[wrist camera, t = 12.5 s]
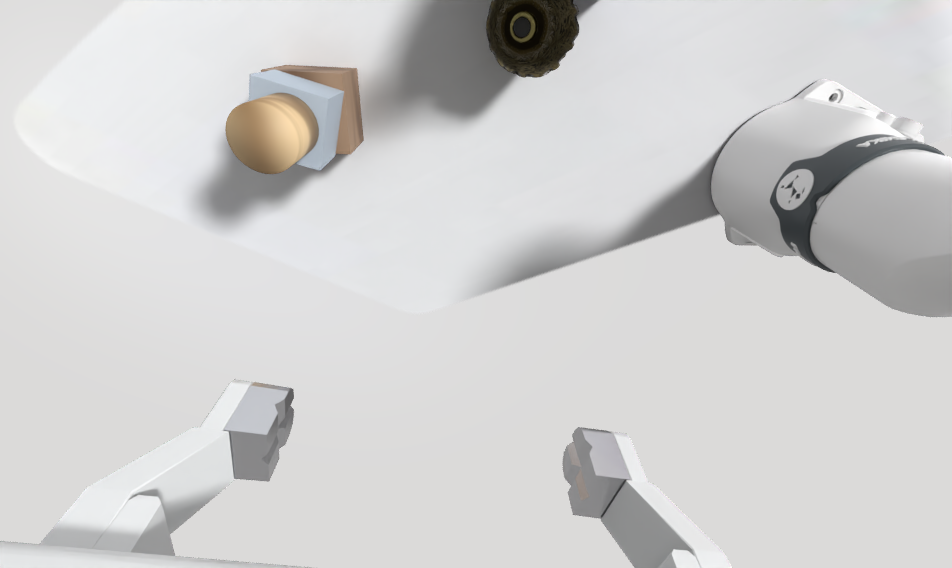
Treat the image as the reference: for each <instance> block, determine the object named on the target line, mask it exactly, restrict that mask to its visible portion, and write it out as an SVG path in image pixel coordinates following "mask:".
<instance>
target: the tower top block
mask: <svg viewBox="0 0 952 568" xmlns="http://www.w3.org/2000/svg"><path fill="white" fill-rule="evenodd" d="M273 93H288V94H291V95H294V96H296V97H298V98H300V99H301V100H302V101H304V102H305V103H306V104H307V105H308V106H309V107H310V109H311V110H312V111H313V113H314V115H315V117H316V119H317V122H318V127H319V137H318V141H317V143H316V145H315V147H314V148H313V149H312V150H311V151H310V152H309V153H307V154H306V155H305V156H304V157H302V158H301V159H300V160H298V161H297V162H296V163H295V164H298V165H301V166H305V167H308V168H312V169H315V170H319V171H320V170H321V169H322V168H323V167H324V166H325V165H327V164H328V163H329V162H330V161H331V160H332V159H333V158H334V157H335V154H336V147H337V140H338V132H339V125H340V118H341V110H342V103H343V96H344V91H342V90H338V89H335V88H332V87H329V86H326V85H323V84H319V83H316V82H313V81H310V80H307V79H304V78H301V77H297V76H294V75H291V74H288V73H285V72H282V71H279V70H275V69H274V70H269V71H264V72H259V73H254V74H250V82H249V101H252V100H255V99H258V98H261V97H264V96H267V95H270V94H273Z"/></svg>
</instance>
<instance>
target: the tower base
mask: <svg viewBox="0 0 952 568" xmlns="http://www.w3.org/2000/svg"><path fill="white" fill-rule="evenodd" d="M274 69H275V70H279V71H282V72H285V73H288V74H291V75H294V76H297V77H301V78H304V79H307V80H310V81H313V82H316V83H319V84H323V85H326V86H329V87H332V88H335V89H338V90H342V91H344V96H343V103H342V110H341V118H340V125H339V132H338V140H337V147H336V154H351V153H352V152H353V151H354V150H355V149H356V148H357V147H358V146H359V145H360V144H361V143H362V142H363V130H362V119H361V108H360V97H359V86H358V75H357V68H338V67H317V66H295V65H284V66H278V67H273V68H268V69H263V70H261V72H264V71H269V70H274Z"/></svg>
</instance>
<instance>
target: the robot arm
mask: <svg viewBox="0 0 952 568" xmlns="http://www.w3.org/2000/svg"><path fill="white" fill-rule="evenodd" d="M832 94H833V96H832V98H831V99H830V100H829V97H830V96H831V95H832ZM923 126H924V125H922V124H921V123H919V122H916V121H914V120H911V119H908V118H904V117H898V118H896V116H894V115H892V114H889V113H886V112H884V111H883V110H881V109H879V108H878V107H876V106H874V105H873V104H871V103H869V102H868V101H866V100H865V99H863V98H861V97H860V96H858V95H856V94H855V93H853V92H851V91H850V90H848V89H846V88H845V87H843V86H841V85H840V84H838V83H837V82H835V81H832V80H829V79H821V80H819V81H817V82H815V83H813V84H812V85H811V86H809V87H808V88H806V89H805V90H804V91H803V92H801V93H800V94H799V95H797V96H796V97H795V98H793V99H791V100H789V101H787V102H784V103H781V104H779V105H776V106H773V107H771V108H769V109H767V110H765V111H763V112H761V113H759V114H758V115H756V116H755V117H753V118H752V119H750V120H749V121H748V122H747V123H745V124H744V125H743V126H742V127H741V128H740V129H739V130H738V131H737V132H736V133H735V134H734V135H733V136H732V137H731V139H730V140H729V141H728V142H727V144H726V145H725V147H724V148H723V150H722V152H721V153H720V155H719V157H718V159H717V162H716V164H715V167H714V170H713V174H712V180H711V194H712V199H713V202H714V205H715V207H716V209H717V210H718V212H719V213H720V215H721V216H722V217H723V219H724V221H725V231H726V237H727V239H728V241H730V242H731V243H733V244H735V245H758V246H760V247H762V248H763V249H765V250H766V251H768V252H770V253H771V254H773V255H775V256H778V257H782V256H784V255H785V256H800V257H801V258H802V259H804V260H805V261H807V262H809V263H810V264H812V265H814V266H818V267H820V268H821V269H823V270H826V271H829V272H833V273H837V274H839V275H840V276H842V277H843V278H845V279H846V280H848V281H849V282H851V283H853V284H854V285H856V286H857V287H859V288H860V289H862V290H863V291H865V292H866V293H868V294H869V295H871V296H872V297H874V298H876V299H877V300H878V301H880V302H882V303H883V304H885V305H886V306H888V307H890V308H892V309H895V310H898V311H901V312H905V313H909V314H914V315H920V316H927V317H951V316H952V157H948V156H945V155H944V154H943V153H942V152H941V151H939V150H938V149H936V148H934V147H931V146H929V145H927V144H925V143H924V137H923V135H922V134H920V133H919V132H920V131H921V130H922V129H923ZM293 398H294V392H293V389H292V388H287V387H281V386H275V385H269V384H263V383H256V382H248V381H242V380H236V379H234V380H233V381H232V382H231V383H230V384H229V385H228V386H227V388H226V389H225V390H224V392H223V394H222V395H221V396H220V398H219V399H218V401H217V402H216V404H215V406H214V407H213V408H212V410H211V412H210V413H209V414H208V416H207V417H206V419H205V420H204V422H203V423H202V425H201V426H200V427H199V428H198V427H193V428H191V429H189V430H187V431H185V432H184V433H182V434H180V435H178V436H177V437H175V438H173V439H171V440H170V441H168V442H166V443H164V444H163V445H161V446H159V447H158V448H156V449H154V450H152V451H150V452H149V453H147V454H145V455H143V456H141V457H140V458H138V459H137V460H135V461H133V462H131V463H129V464H127V465H126V466H124V467H122V468H120V469H119V470H117V471H115V472H113V473H112V474H110V475H108V476H106V477H105V478H103V479H101V480H99V481H98V482H96V483H94V484H92V485H91V486H89V487H87V488H86V489H85V490H84V492H83V493H82V494H81V495H80V496H79V497H78V499H77V500H76V501H75V502H74V504H73V505H72V506H71V507H70V508H69V510H68V511H67V512H66V513H65V514H64V515H63V517H62V518H61V519H60V520H59V521H58V523H57V524H56V525H55V526H54V527H53V529H52V530H51V531H50V532H49V533H48V535H47V536H46V537H45V538H44V539H43V541H42V542H41V543H40V544H29V543H28V544H27V543H17V542H5V541H0V568H308V567H297V566H286V565H273V564H262V563H249V562H239V561H226V560H214V559H203V558H191V557H180V556H175V553H174V549H173V545H172V542H171V538H170V534H171V533H172V532H173V531H175V530H176V529H177V528H178V527H179V526H181V525H182V524H183V523H184V522H185V521H187V520H188V519H189V518H190V517H191V516H193V515H194V514H195V513H196V512H197V511H199V510H200V509H201V508H202V507H203V506H205V504H207V503H208V502H209V501H210V500H212V499H213V498H214V497H215V496H216V495H217V494H219V493H220V492H221V491H222V490H223V489H225V488H226V487H227V486H228V485H230V484H231V483H232V482H233V481H234V479H246V480H258V481H269V480H270V478H271V476H272V474H273V471H274V469H275V467H276V465H277V462H278V460H279V448H281V447H282V446H284V445H285V444H286V442H287V439H288V437H289V434H290V431H291V427H292V424H293V416H294V409H293V408H292V407H291V406H290V405H291V403H292V401H293ZM573 441H574V442H572V443H571V444H569V445H568V446H567V447H566V449H565V452H564V456H563V472H564V477H565V479H566V480H567V481H568V483H569V484H570V485H571V488H570V490H569V491H568V495H569V499H570V504H571V508H572V512H573V515H579V516H586V517H594V518H600V519H601V521H602V522H603V524H604V525H605V527H606V528H607V530H608V531H609V532H610V534H611V535H612V537H613V538H614V539H615V541H616V542H617V543H618V545H619V546H620V548H621V549H622V550H623V552H624V553H625V555H626V556H627V557H628V559H629V560H630V562H631V563H632V564H633V566H634V567H635V568H732V567H731V565H730V563H729V561H728V559H727V557H726V555H725V553H724V552H723V551H722V550H721V549H720V548H719V547H718V546H717V545H716V544H715V543H714V542H713V541H711V539H710V538H709V537H708V536H707V535H706V534H705V533H703V531H701V530H700V529H699V528H698V527H697V526H696V525H695V524H694V523H693V522H692V521H691V520H690V519H689V518H688V517H687V516H686V515H685V514H684V513H683V512H682V511H681V510H680V509H679V508H678V507H677V506H676V505H675V504H674V503H673V502H672V501H671V500H670V499H669V498H668V497H667V496H666V495H665V494H664V493H663V492H662V491H661V490H660V489H659V488H657V486H655V485H654V484H653V483H649V482H648V480H647V477H646V475H645V473H644V470H643V468H642V465H641V463H640V461H639V458H638V456H637V453H636V451H635V448H634V446H633V444H632V441H631V439H630V437H629V436H628V435H627V434H626V433H618V432H609V431H604V430H596V429H588V428H580V427H578V428H577V429H576V430H575V431H574V433H573Z"/></svg>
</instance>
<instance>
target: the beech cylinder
mask: <svg viewBox="0 0 952 568" xmlns="http://www.w3.org/2000/svg"><path fill="white" fill-rule="evenodd" d="M226 137H227V141H228V143H229V146H230V148H231V150H232V151H233V153H234V154H235V155H236V157H237V158H238V159H239V160H240V161H241V162H242V163H244V164H245V165H246V166H248V167H249V168H251V169H253V170H255V171H257V172H261V173H265V174H276V173H280V172H283V171H285V170H287V169H288V168H289V167H291V166H292V165H293V164H295V163H296V162H297V161H298V160H300V159H301V158H302V157H304V156H305V155H306V154H307V153H309V152H310V151H311V150H312V149H313V148H314V147H315V145H316V143H317V141H318V137H319V127H318V122H317V119H316V117H315V115H314V113H313V111H312V110H311V109H310V107H309V106H308V105H307V104H306V103H305V102H304V101H302V100H301V99H300V98H298V97H296V96H294V95H291V94H288V93H273V94H270V95H267V96H264V97H261V98H258V99H255V100H252V101H249V102H246V103H243V104H241V105H239V106H237V107H236V108H234V109H233V110H232V112H231V113H230V114H229V116H228V118H227V121H226Z"/></svg>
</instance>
